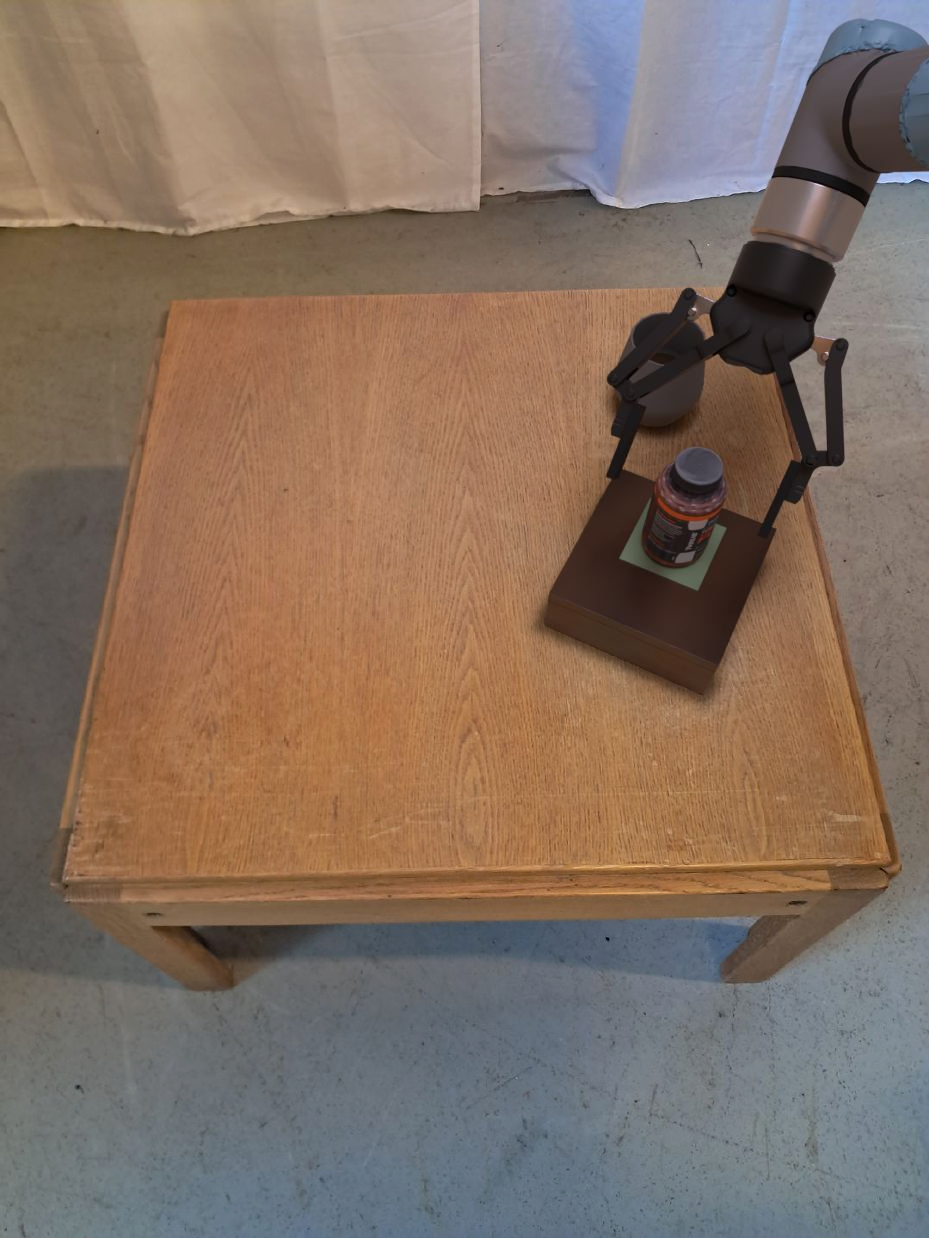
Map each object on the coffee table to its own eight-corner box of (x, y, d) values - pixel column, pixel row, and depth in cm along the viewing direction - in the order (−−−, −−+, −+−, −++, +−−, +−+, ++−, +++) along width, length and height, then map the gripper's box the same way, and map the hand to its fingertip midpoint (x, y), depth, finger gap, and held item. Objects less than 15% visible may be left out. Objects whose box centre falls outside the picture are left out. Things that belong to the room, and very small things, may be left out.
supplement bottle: (699, 576, 82) (730, 502, 72) (634, 561, 83) (656, 485, 73) (710, 524, 85) (741, 445, 75) (647, 509, 86) (669, 430, 76)
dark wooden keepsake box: (759, 563, 90) (777, 527, 84) (703, 695, 83) (719, 665, 78) (610, 503, 94) (618, 465, 88) (544, 625, 87) (548, 592, 81)
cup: (604, 435, 98) (617, 367, 89) (611, 371, 102) (624, 301, 94) (693, 445, 97) (715, 378, 88) (696, 380, 102) (717, 310, 93)
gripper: (946, 308, 72) (827, 554, 79) (649, 215, 77) (562, 452, 84) (962, 297, 65) (830, 568, 72) (636, 196, 71) (542, 456, 77)
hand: (685, 506), depth 78 cm, fingers open, 13 cm apart
